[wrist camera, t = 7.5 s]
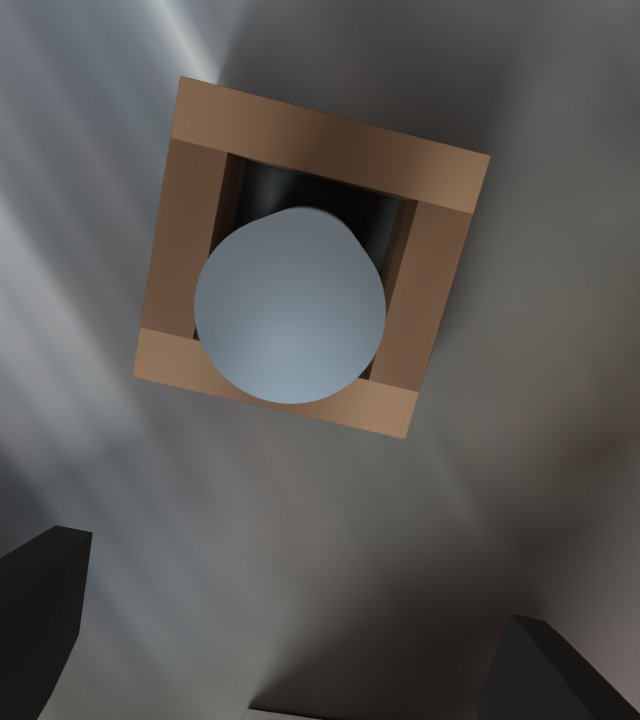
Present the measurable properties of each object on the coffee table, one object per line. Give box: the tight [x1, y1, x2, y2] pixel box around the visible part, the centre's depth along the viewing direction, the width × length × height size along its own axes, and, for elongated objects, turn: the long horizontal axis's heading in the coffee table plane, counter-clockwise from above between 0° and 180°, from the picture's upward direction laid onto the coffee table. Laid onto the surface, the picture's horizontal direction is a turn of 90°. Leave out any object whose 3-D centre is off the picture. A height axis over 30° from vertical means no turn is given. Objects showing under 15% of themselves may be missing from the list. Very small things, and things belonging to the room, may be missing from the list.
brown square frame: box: [132, 76, 491, 439], centre depth 17 cm, size 8×8×4 cm
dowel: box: [194, 205, 386, 404], centre depth 14 cm, size 3×3×9 cm
